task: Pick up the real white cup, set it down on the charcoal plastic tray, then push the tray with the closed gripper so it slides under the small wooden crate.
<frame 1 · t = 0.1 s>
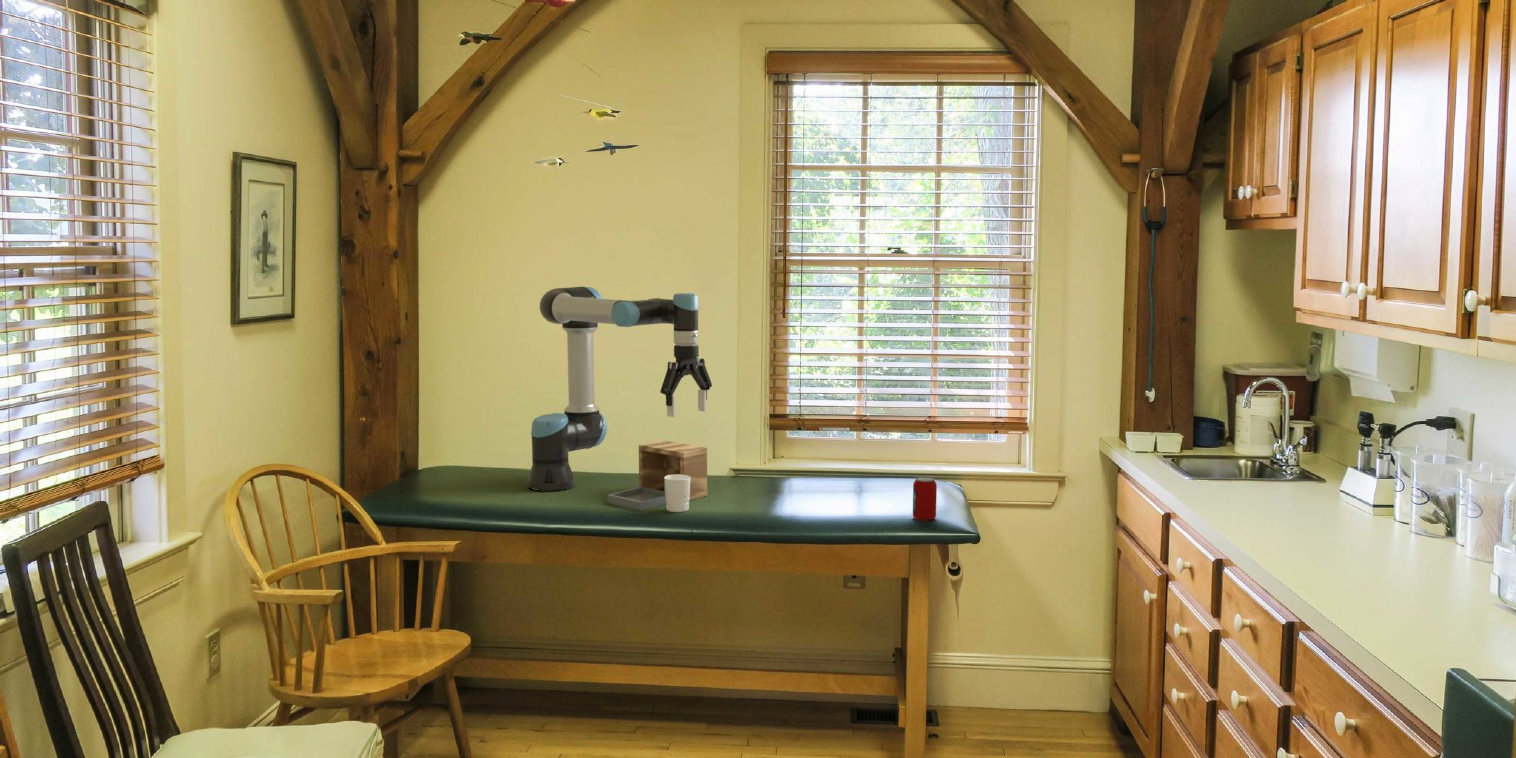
hand: (686, 413, 353), 28 cm above the table, fingers open, 13 cm apart
beverage can: (924, 519, 337), on the table
wooden crate: (673, 494, 368), on the table
tray: (641, 498, 357), point 1 cm above the table, slide at 0.0 cm
white cup: (677, 510, 348), on the table
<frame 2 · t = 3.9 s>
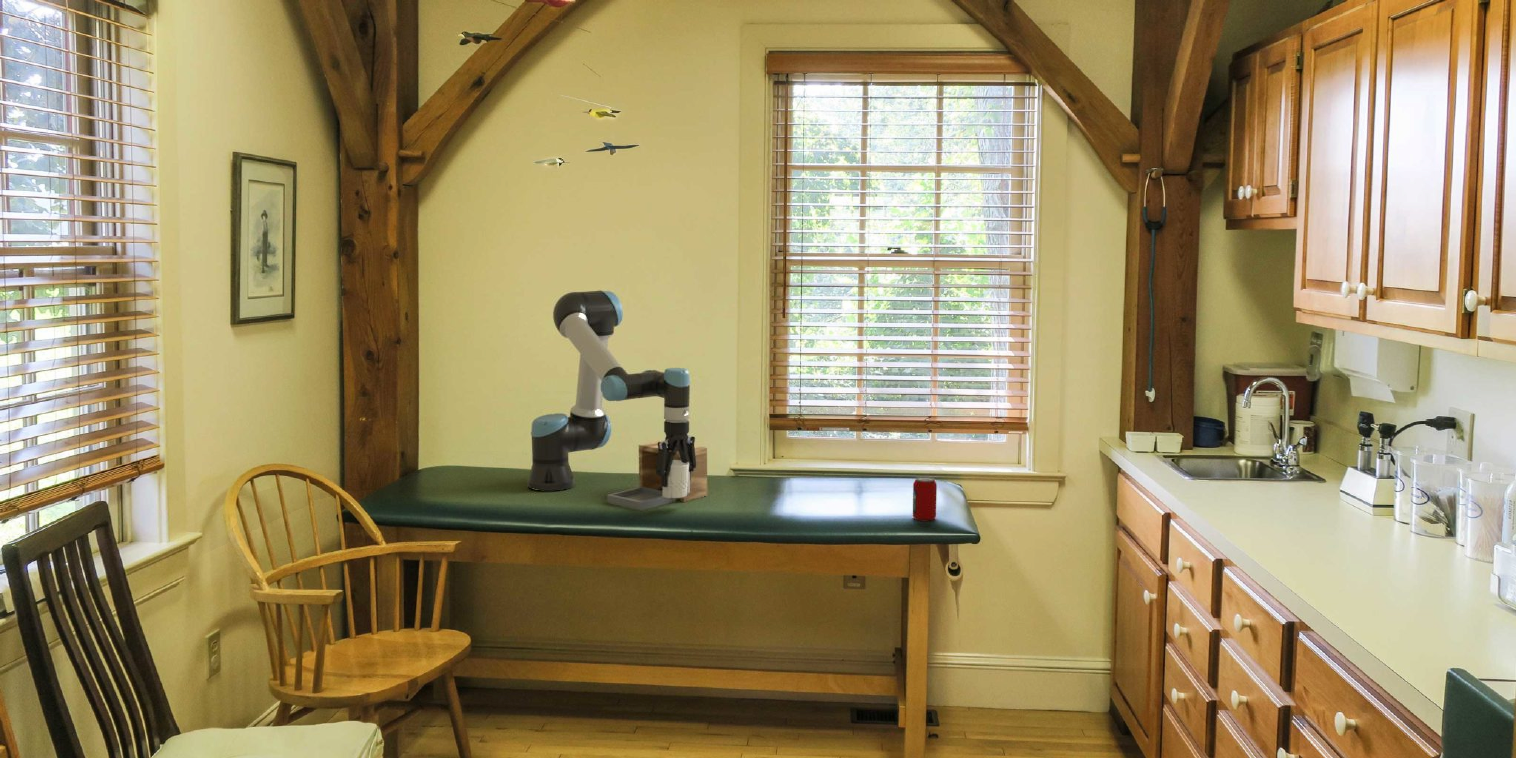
hand: (676, 494, 348), 5 cm above the table, fingers closed on white cup, 7 cm apart
white cup: (675, 496, 348), point 4 cm above the table, touching gripper
everything else where it was.
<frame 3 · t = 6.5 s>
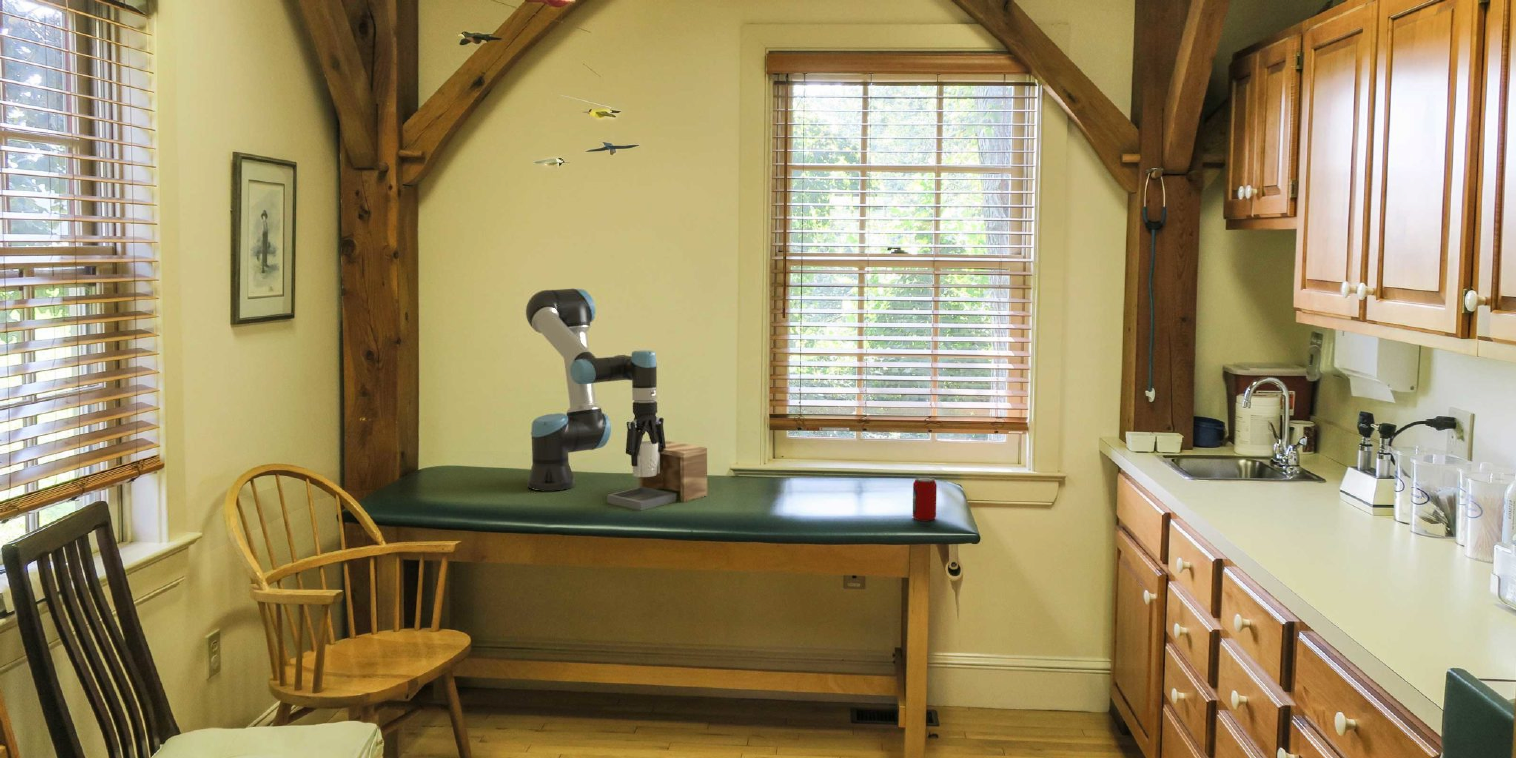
hand: (646, 474, 356), 9 cm above the table, fingers closed on white cup, 7 cm apart
white cup: (646, 475, 357), point 8 cm above the table, touching gripper
everything else where it was.
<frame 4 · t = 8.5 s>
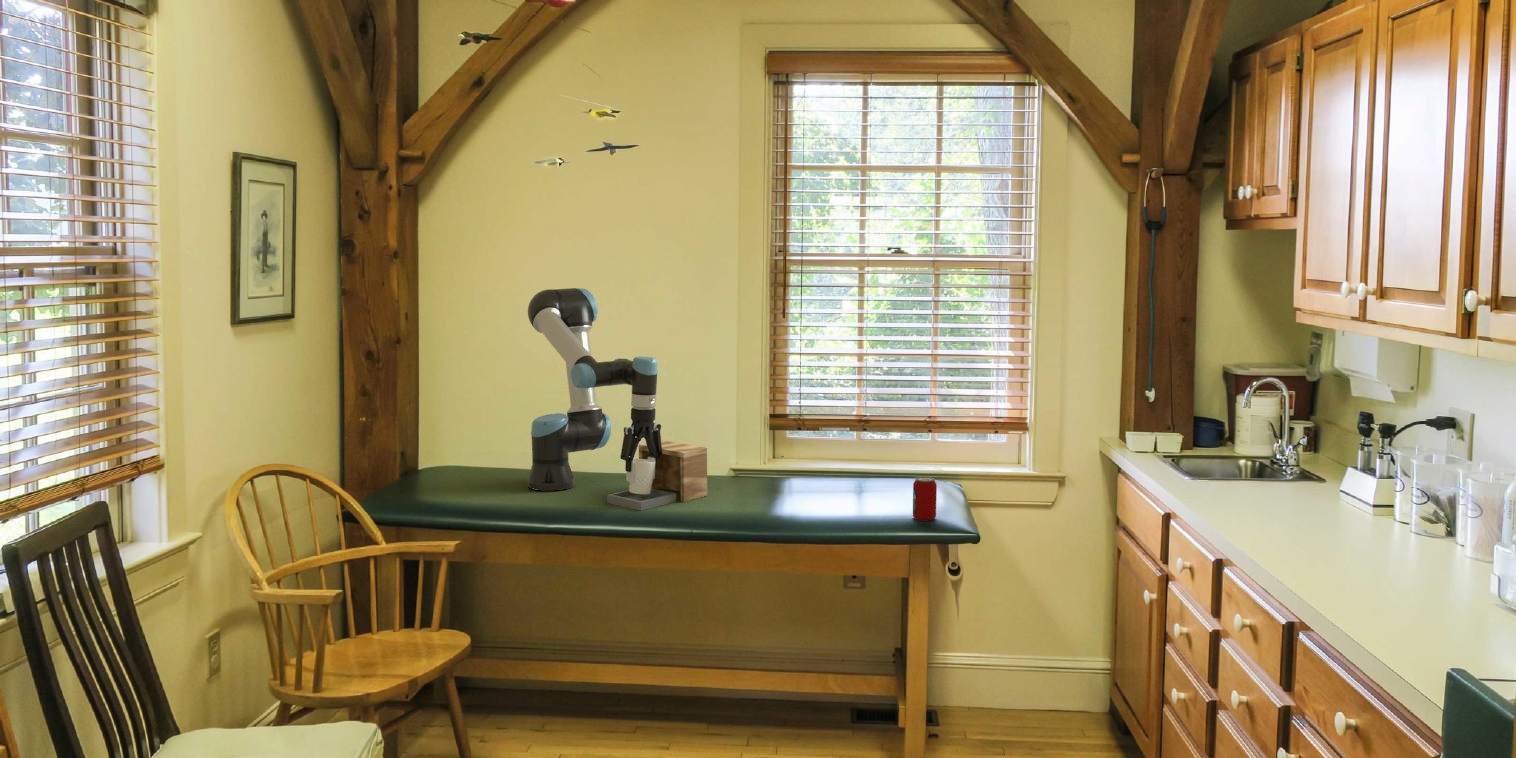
hand: (640, 479, 357), 7 cm above the table, fingers closed on white cup, 8 cm apart
white cup: (639, 493, 357), point 3 cm above the table, touching gripper
everything else where it was.
when the fingers open (7 cm above the table, at t = 8.5 s): white cup drops 2 cm, resting on tray.
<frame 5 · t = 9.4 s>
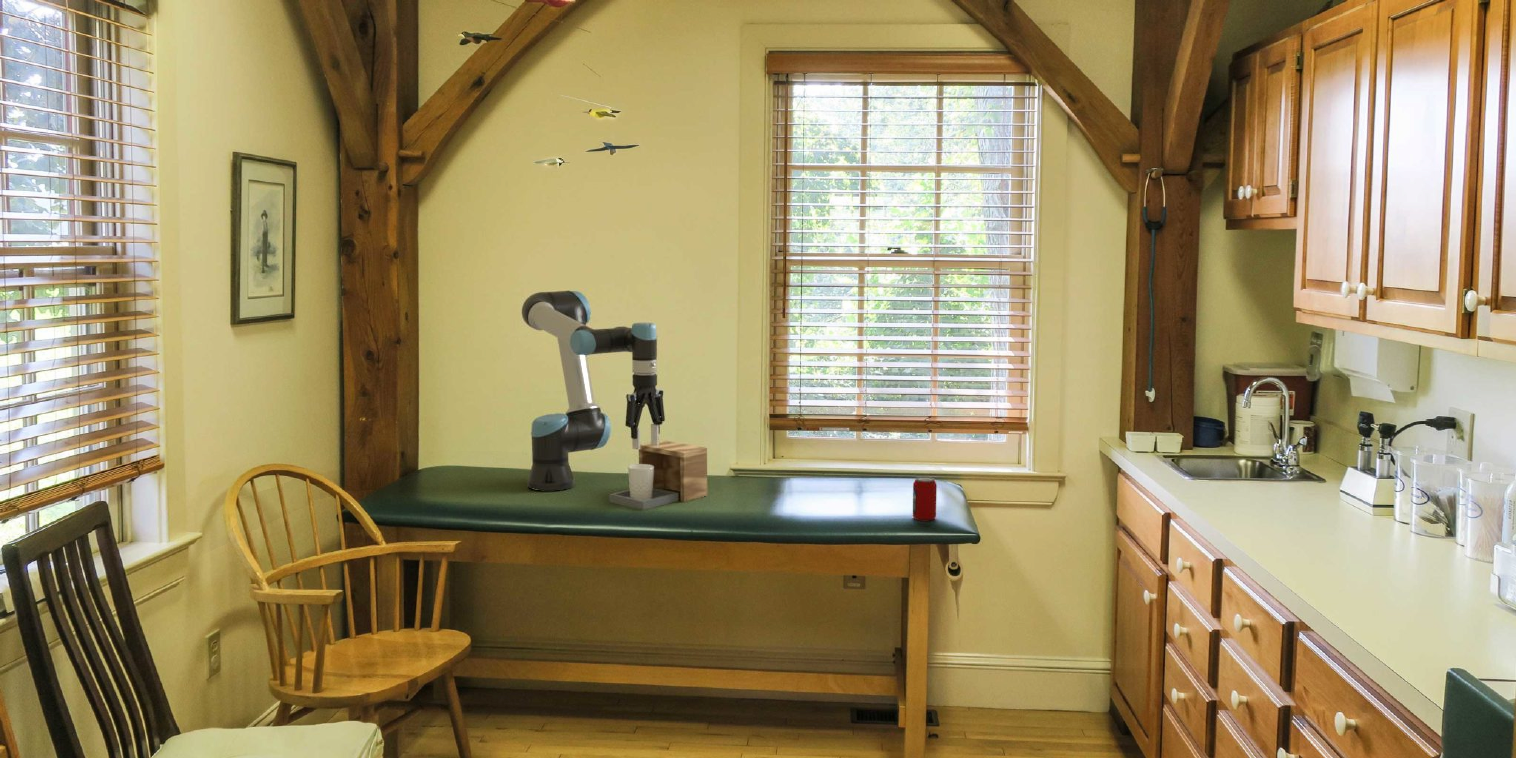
hand: (645, 446, 357), 17 cm above the table, fingers open, 7 cm apart
tray: (644, 497, 358), point 1 cm above the table, slide at 1.0 cm, touching white cup
white cup: (641, 498, 358), point 1 cm above the table, touching tray
everything else where it was.
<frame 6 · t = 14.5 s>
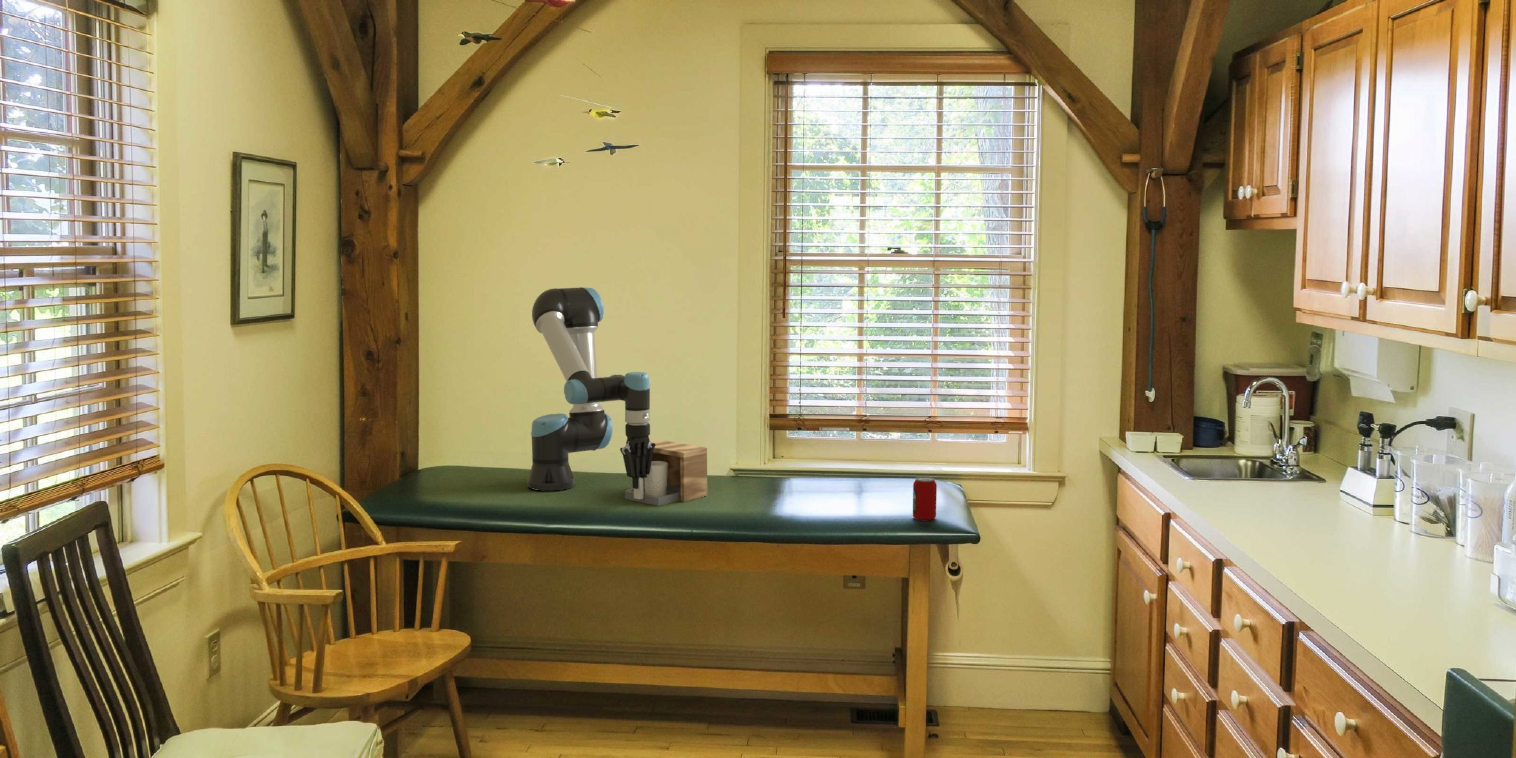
hand: (638, 498, 356), 1 cm above the table, fingers closed
tray: (658, 493, 363), point 1 cm above the table, slide at 7.3 cm, touching white cup
white cup: (655, 495, 363), point 1 cm above the table, touching hand, tray
everything else where it was.
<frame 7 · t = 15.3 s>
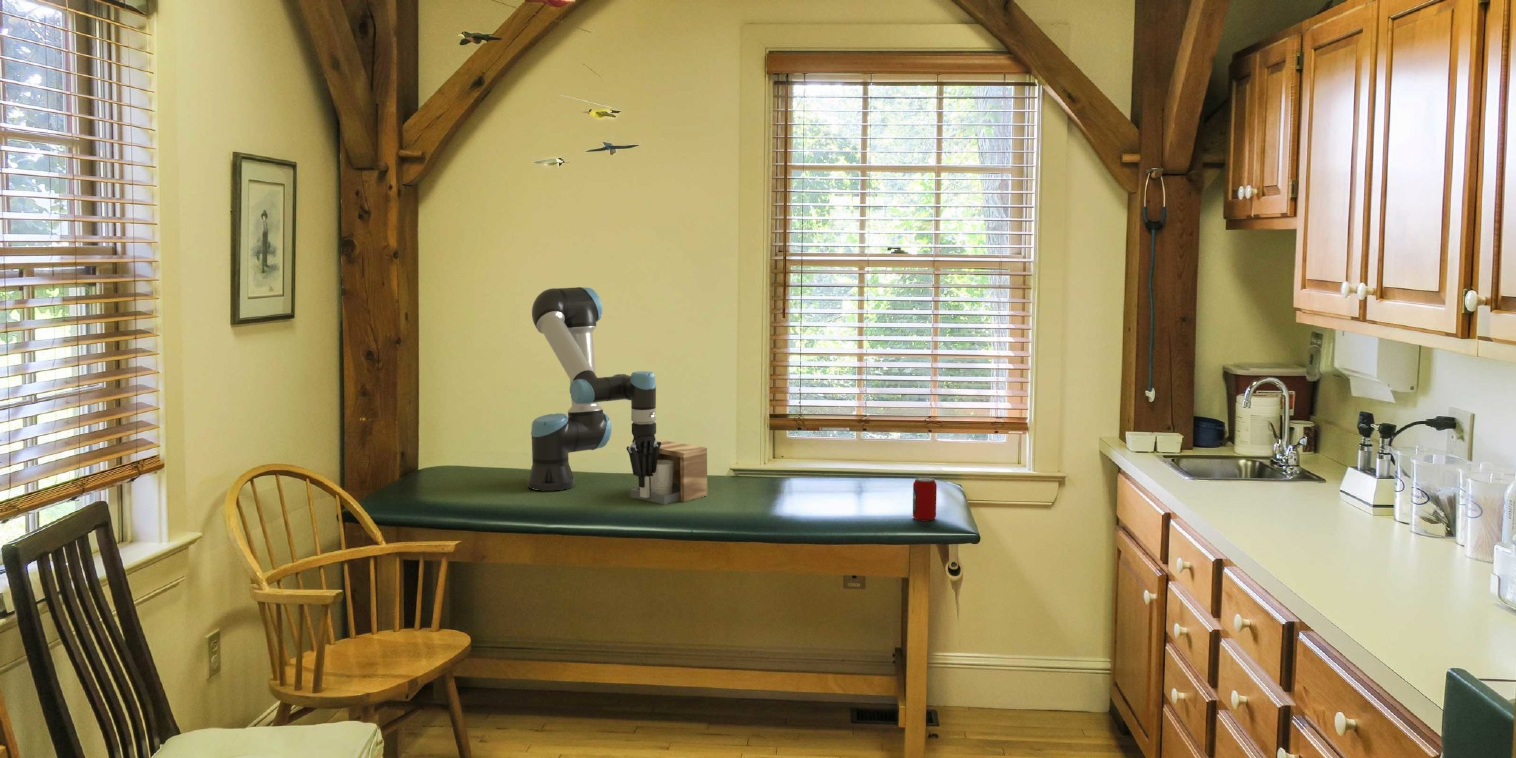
hand: (644, 496, 358), 1 cm above the table, fingers closed
tray: (664, 492, 365), point 1 cm above the table, slide at 9.9 cm, touching white cup
white cup: (661, 493, 365), point 1 cm above the table, touching hand, tray
everything else where it was.
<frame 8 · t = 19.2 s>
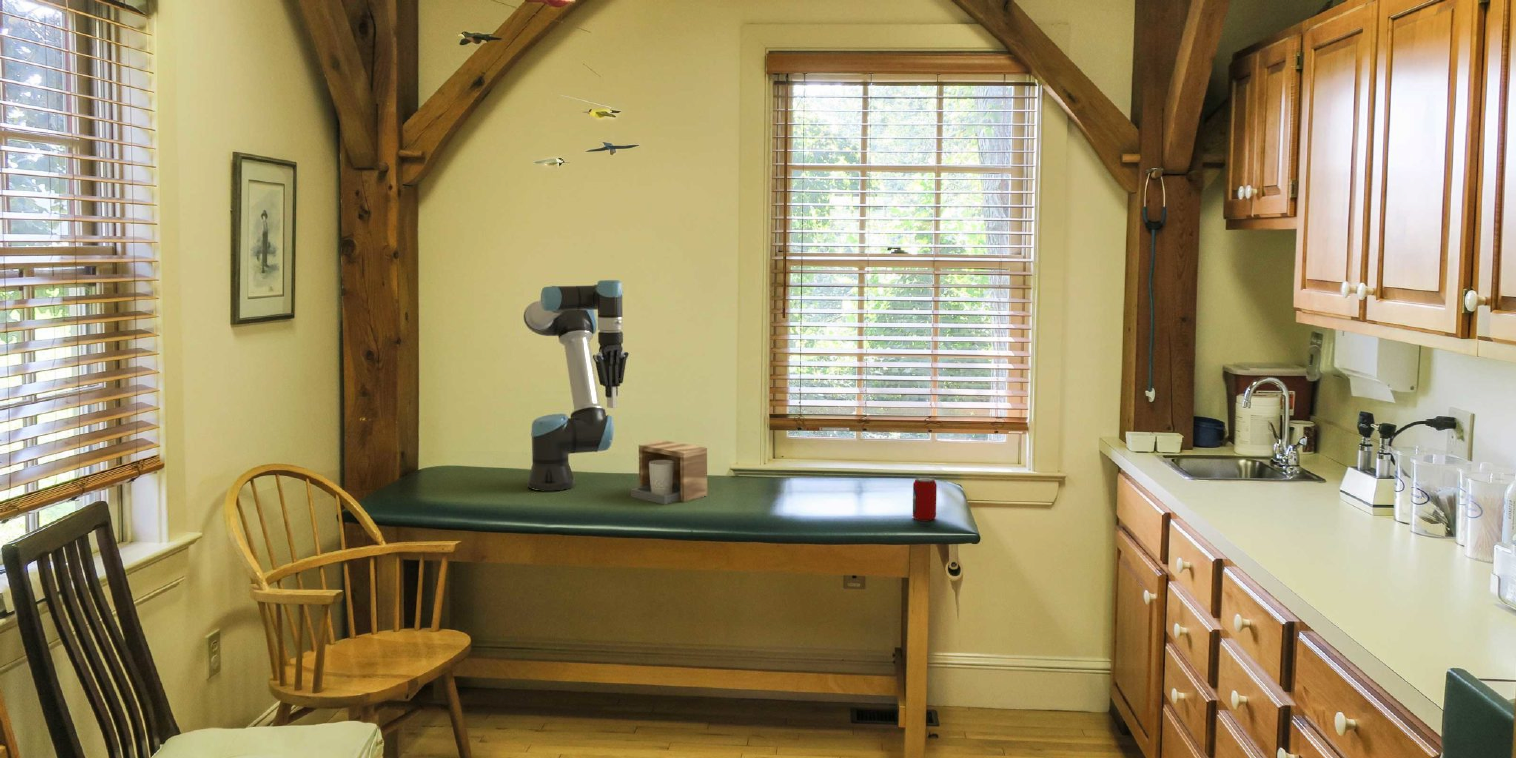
hand: (611, 407, 355), 29 cm above the table, fingers closed
white cup: (661, 493, 365), point 1 cm above the table, touching tray
everything else where it was.
at the end: tray slide at 10.0 cm; white cup inside the target area (3.2 cm from its centre), point 0.8 cm above the table; white cup tilted 0° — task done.
